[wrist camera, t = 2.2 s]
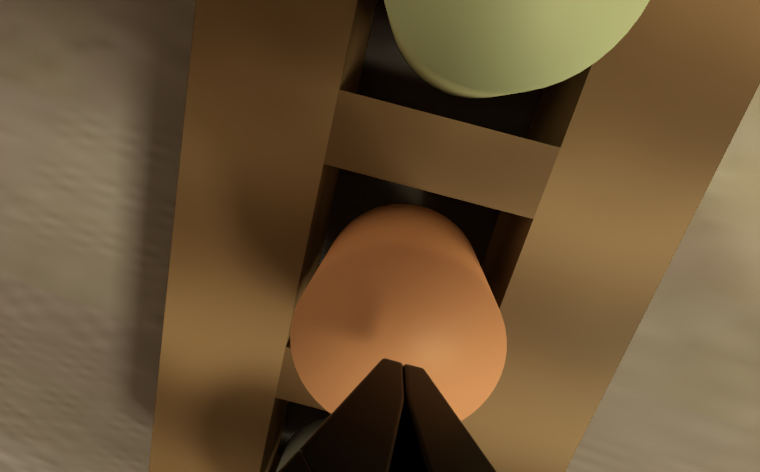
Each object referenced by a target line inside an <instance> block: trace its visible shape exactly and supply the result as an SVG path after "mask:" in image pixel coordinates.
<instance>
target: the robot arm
mask: <svg viewBox="0 0 760 472" xmlns="http://www.w3.org/2000/svg"><path fill="white" fill-rule="evenodd" d="M278 472H496V470H495V469H494V467H493V466H492V465H491V463H490V462H489V460H488V459H487V457H486V456H485V455H484V453H483V452H482V450H481V449H480V448H479V446H478V445H477V443H476V442H475V440H474V439H473V438H472V436H471V435H470V433H469V432H468V430H467V429H466V428H465V426H464V425H463V423H462V422H461V421H460V419H459V418H458V416H457V415H456V413H455V412H454V411H453V409H452V408H451V406H450V405H449V404H448V402H447V401H446V399H445V398H444V396H443V395H442V394H441V392H440V391H439V389H438V388H437V386H436V385H435V384H434V382H433V381H432V379H431V378H430V377H429V375H428V374H427V372H426V371H425V370H424V369H423V368H421V367H417V366H413V365H409V364H404V365H402V363H401V362H398V361H394V360H390V359H386V358H383V359H382V360H381V361H380V362H379V363H378V364H377V365H376V366H375V367H374V368H373V369H372V370H371V371H370V373H369V374H368V375H367V376H366V377H365V378H364V379H363V380H362V381H361V382H360V383H359V384H358V386H357V387H356V388H355V389H354V390H353V391H352V392H351V393H350V394H349V395H348V396H347V398H346V399H345V400H344V401H343V402H342V403H341V404H340V405H339V406H338V407H337V408H336V409H335V411H334V412H333V413H332V414H331V415H330V416H329V417H328V418H327V419H326V420H325V421H324V423H323V424H322V425H321V426H320V427H319V428H318V429H317V430H316V431H315V432H314V433H313V434H312V436H311V437H310V438H309V439H308V440H307V441H306V442H305V443H304V444H303V445H302V446H301V448H300V449H299V451H297V452H296V453H295V454H294V455H293V456H292V457H291V458H290V459H289V460H288V461H287V462H286V463H285V465H284V466H283V467H282V468H281V469H280V470H279V471H278Z"/></svg>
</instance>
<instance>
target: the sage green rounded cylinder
mask: <svg viewBox="0 0 760 472" xmlns="http://www.w3.org/2000/svg"><path fill="white" fill-rule="evenodd" d="M326 419H327V418H324V419H320V420H317V421H314V422H311V423H309V424H307V425H305V426H304V427H302V428H301V429H300V430H298V431H297V432H296V433H295V434H294V435H293V436H292V437H291V439H290V440H289V441H288V443H287V445H286V447H285V449H284V452H283V455H282V457H281V460H280V463H279V465H278V468H277V471H276V472H278V471H279V470H280V469H281V468H282V467H283V466H284V465H285V463H286V462H287V461H288V460H289V459H290V458H291V457H292V456H293V455H294V454H295V453H296V452H297V451H299V449H300V448H301V446H302V445H303V444H304V443H305V442H306V441H307V440H308V439H309V438H310V437H311V436H312V434H313V433H314V432H315V431H316V430H317V429H318V428H319V427H320V426H321V425H322V424H323V423H324V421H325V420H326Z"/></svg>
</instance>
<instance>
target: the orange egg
mask: <svg viewBox="0 0 760 472" xmlns="http://www.w3.org/2000/svg"><path fill="white" fill-rule="evenodd" d="M290 346H291V352H292V358H293V361H294V365H295V368H296V370H297V373H298V375H299V377H300V379H301V381H302V383H303V384H304V386H305V387H306V389H307V390H308V392H309V393H310V394H311V395H312V397H313V398H314V399H315V400H316V401H317V402H318V403H319V404H320V405H321V406H322V407H323V408H324V409H325V410H327V411H328V412H329V413H331V414H332V413H333V412H334V411H335V409H336V408H337V407H338V406H339V405H340V404H341V403H342V402H343V401H344V400H345V399H346V398H347V396H348V395H349V394H350V393H351V392H352V391H353V390H354V389H355V388H356V387H357V386H358V384H359V383H360V382H361V381H362V380H363V379H364V378H365V377H366V376H367V375H368V374H369V373H370V371H371V370H372V369H373V368H374V367H375V366H376V365H377V364H378V363H379V362H380V361H381V360H382V359H383V358H386V359H390V360H394V361H398V362H401V363H402V365H404V364H409V365H413V366H417V367H421V368H423V369H424V370H425V371H426V372H427V374H428V375H429V377H430V378H431V379H432V381H433V382H434V384H435V385H436V386H437V388H438V389H439V391H440V392H441V394H442V395H443V396H444V398H445V399H446V401H447V402H448V404H449V405H450V406H451V408H452V409H453V411H454V412H455V413H456V415H457V416H458V418H459V419H460V421H462V420H464V419H465V418H467V417H468V416H470V415H471V414H472V413H473V412H474V411H476V410H477V409H478V408H479V407H480V406H481V405H482V404H483V403H484V402H485V401H486V400H487V398H488V397H489V396H490V394H491V393H492V391H493V390H494V389H495V387H496V385H497V383H498V381H499V379H500V377H501V374H502V371H503V368H504V365H505V359H506V353H507V336H506V330H505V324H504V321H503V318H502V314H501V312H500V309H499V307H498V305H497V303H496V300H495V298H494V296H493V293H492V291H491V289H490V287H489V284H488V282H487V280H486V277H485V275H484V273H483V271H482V268H481V266H480V264H479V261H478V259H477V257H476V254H475V252H474V250H473V248H472V246H471V244H470V242H469V240H468V239H467V237H466V236H465V234H464V233H463V232H462V231H461V230H460V229H459V227H458V226H456V225H455V224H454V223H453V222H452V221H451V220H449V219H448V218H446V217H445V216H443V215H442V214H440V213H438V212H436V211H434V210H431V209H428V208H425V207H422V206H417V205H412V204H390V205H385V206H380V207H377V208H374V209H371V210H369V211H367V212H365V213H363V214H361V215H359V216H358V217H356V218H355V219H353V220H352V221H351V222H350V223H349V224H347V225H346V226H345V227H344V228H343V230H342V231H341V232H340V233H339V235H338V236H337V238H336V239H335V241H334V242H333V244H332V246H331V247H330V249H329V251H328V252H327V254H326V256H325V257H324V259H323V261H322V262H321V264H320V266H319V267H318V269H317V271H316V272H315V274H314V276H313V277H312V279H311V281H310V282H309V284H308V286H307V287H306V289H305V291H304V292H303V294H302V296H301V297H300V300H299V302H298V304H297V306H296V308H295V312H294V315H293V319H292V323H291V331H290Z"/></svg>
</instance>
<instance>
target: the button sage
mask: <svg viewBox="0 0 760 472" xmlns="http://www.w3.org/2000/svg"><path fill="white" fill-rule="evenodd" d="M649 1H650V0H384V2H385V6H386V10H387V14H388V18H389V22H390V25H391V29H392V33H393V36H394V39H395V42H396V44H397V46H398V48H399V51H400V53H401V54H402V56H403V58H404V59H405V61H406V62H407V64H408V65H409V66H410V67H411V69H412V70H413V71H414V72H415V73H416V74H417V75H418V76H419V77H420V78H421V79H422V80H423V81H425V82H426V83H428V84H429V85H431V86H432V87H434V88H436V89H438V90H440V91H442V92H444V93H447V94H450V95H452V96H457V97H462V98H472V99H480V98H490V97H496V96H502V95H508V94H514V93H521V92H527V91H531V90H536V89H540V88H545V87H548V86H551V85H553V84H556V83H559V82H562V81H564V80H566V79H568V78H570V77H572V76H574V75H576V74H578V73H580V72H582V71H583V70H585V69H586V68H588V67H589V66H591V65H592V64H594V63H595V62H597V61H598V60H599V59H600V58H602V57H603V56H604V55H605V54H606V53H608V52H609V51H610V50H611V49H612V48H613V47H614V46H615V45H616V44H617V43H618V42H619V41H620V40H621V39H622V38H623V37H624V36H625V35H626V34H627V33H628V31H629V30H630V29H631V27H632V26H633V25H634V23H635V22H636V21H637V20H638V18H639V17H640V16H641V14H642V12H643V11H644V9H645V7H646V6H647V4H648V2H649Z"/></svg>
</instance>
